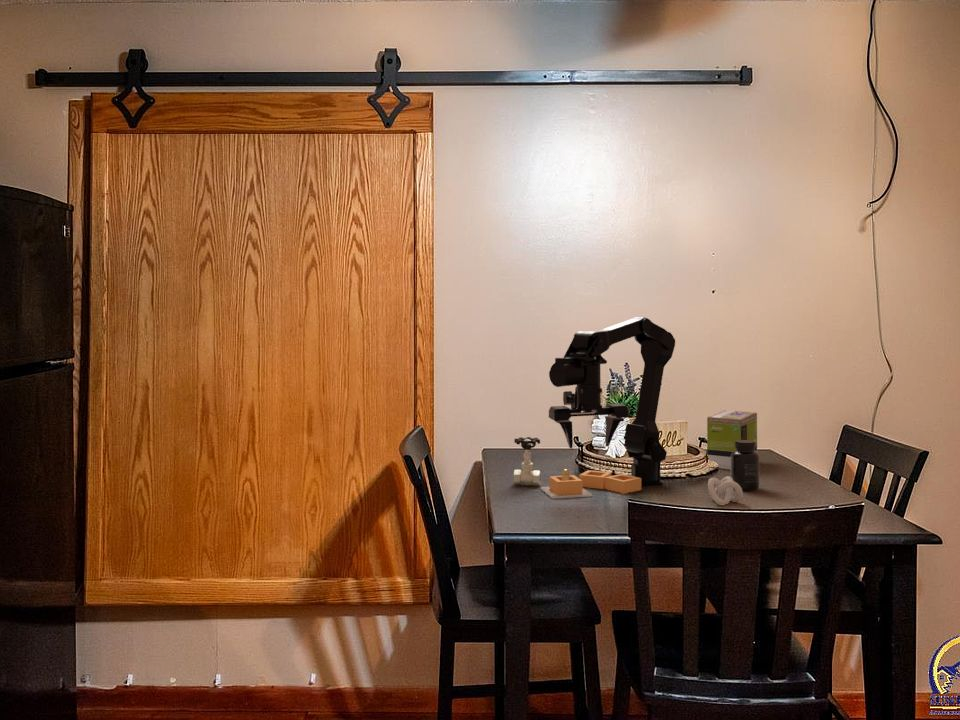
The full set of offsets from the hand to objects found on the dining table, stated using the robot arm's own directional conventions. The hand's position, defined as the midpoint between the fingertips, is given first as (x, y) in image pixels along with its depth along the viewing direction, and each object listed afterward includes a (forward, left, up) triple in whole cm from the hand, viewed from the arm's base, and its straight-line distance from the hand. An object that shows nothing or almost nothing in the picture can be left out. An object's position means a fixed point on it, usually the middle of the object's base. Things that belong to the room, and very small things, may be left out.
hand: (589, 447), depth 195 cm
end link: (+5, -3, -11) cm, 12 cm away
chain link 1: (-5, -9, -12) cm, 15 cm away
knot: (-28, +14, -12) cm, 34 cm away
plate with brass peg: (+5, -3, -12) cm, 13 cm away
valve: (+12, -13, -12) cm, 21 cm away
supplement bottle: (-40, +3, -12) cm, 42 cm away
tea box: (-52, -24, -12) cm, 58 cm away
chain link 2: (-10, -3, -12) cm, 16 cm away
